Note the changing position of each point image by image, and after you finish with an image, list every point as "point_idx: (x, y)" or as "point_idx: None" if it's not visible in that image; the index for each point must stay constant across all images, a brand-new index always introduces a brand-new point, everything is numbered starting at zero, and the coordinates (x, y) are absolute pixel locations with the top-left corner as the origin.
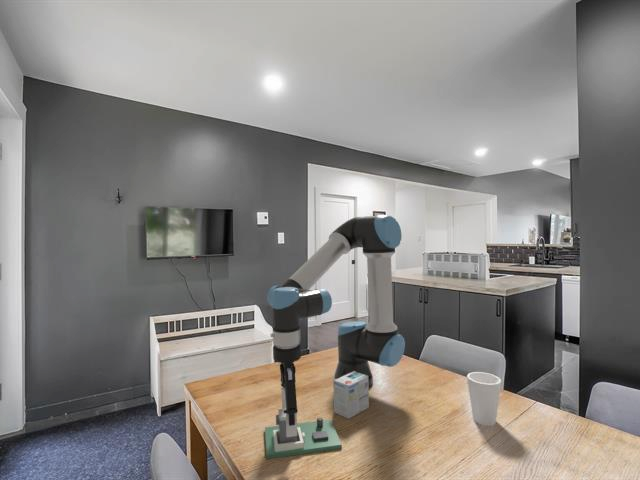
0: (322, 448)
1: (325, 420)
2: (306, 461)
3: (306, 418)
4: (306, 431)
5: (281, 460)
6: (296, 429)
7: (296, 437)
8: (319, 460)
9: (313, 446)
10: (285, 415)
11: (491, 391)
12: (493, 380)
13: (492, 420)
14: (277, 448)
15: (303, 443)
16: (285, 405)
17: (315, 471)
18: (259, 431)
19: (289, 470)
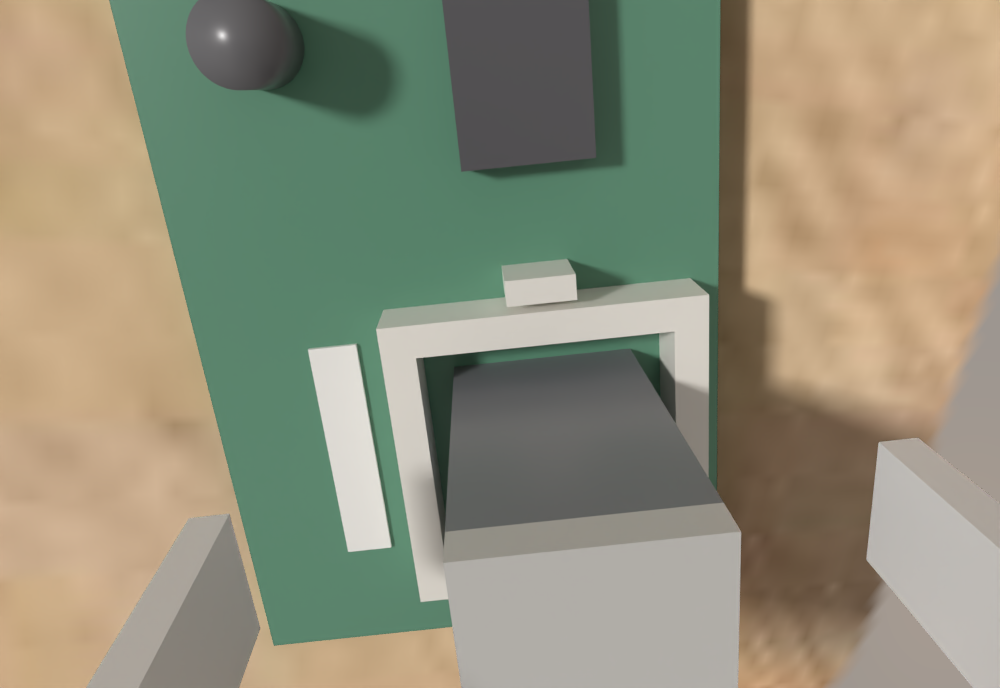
0: (715, 62)
1: None
2: (826, 249)
3: (10, 206)
4: (377, 233)
5: (753, 465)
6: (973, 490)
7: (649, 383)
8: (848, 115)
9: (682, 169)
10: (683, 683)
11: None
12: None
13: None
14: None
15: (705, 294)
16: (226, 648)
17: (991, 171)
18: (291, 661)
19: (901, 400)
